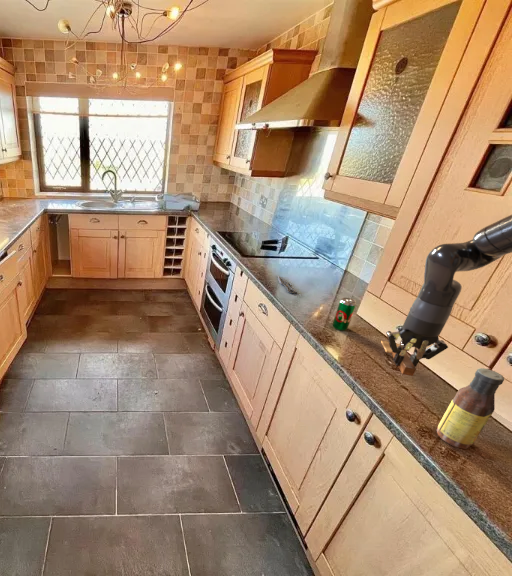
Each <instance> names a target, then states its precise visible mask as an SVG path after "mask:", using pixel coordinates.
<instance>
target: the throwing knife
mask: <svg viewBox="0 0 512 576" xmlns="http://www.w3.org/2000/svg"><path fill="white" fill-rule="evenodd" d="M277 280H278V282H279V284H280V285H282V286H284V288H286V290H287V293H288V294H296V293H297V290H295V289H293V288H292V287H291V285H290V283H289V282H288V281H287V280H285V279H284V278H283V277H281V276H279V275H277Z"/></svg>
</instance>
